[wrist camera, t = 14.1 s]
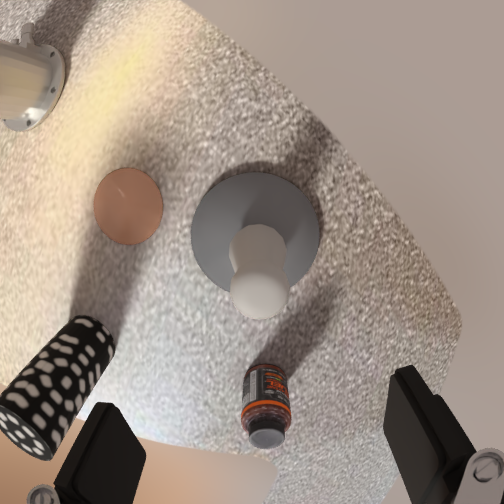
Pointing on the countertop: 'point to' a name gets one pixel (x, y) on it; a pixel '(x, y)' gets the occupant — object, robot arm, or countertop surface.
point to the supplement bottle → (265, 406)
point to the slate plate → (253, 223)
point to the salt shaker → (258, 272)
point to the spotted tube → (55, 387)
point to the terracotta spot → (128, 206)
